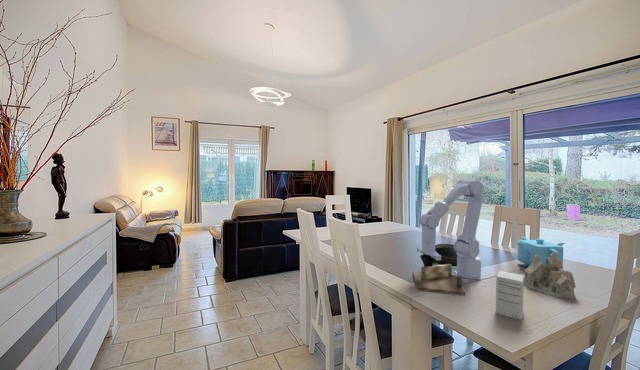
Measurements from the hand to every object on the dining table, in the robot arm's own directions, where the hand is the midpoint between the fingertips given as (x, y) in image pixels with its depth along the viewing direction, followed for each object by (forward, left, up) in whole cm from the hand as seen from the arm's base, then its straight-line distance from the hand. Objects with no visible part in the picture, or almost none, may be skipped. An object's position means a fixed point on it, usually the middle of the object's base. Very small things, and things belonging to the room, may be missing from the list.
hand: (427, 271), depth 125 cm
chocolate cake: (-13, -30, -4) cm, 32 cm away
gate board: (-3, +3, -3) cm, 6 cm away
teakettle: (-55, -33, -4) cm, 64 cm away
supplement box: (-23, +24, -4) cm, 34 cm away
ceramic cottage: (-46, -2, -4) cm, 47 cm away
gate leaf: (-4, 0, -2) cm, 4 cm away
